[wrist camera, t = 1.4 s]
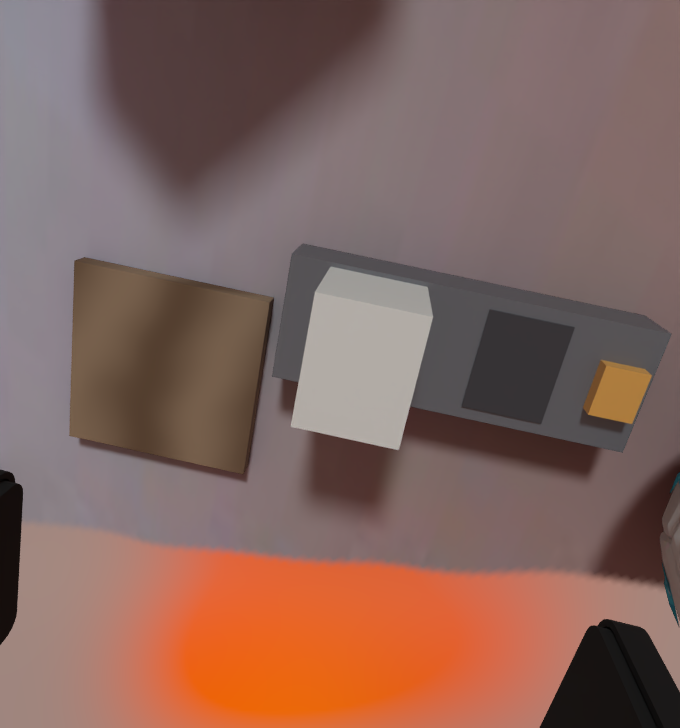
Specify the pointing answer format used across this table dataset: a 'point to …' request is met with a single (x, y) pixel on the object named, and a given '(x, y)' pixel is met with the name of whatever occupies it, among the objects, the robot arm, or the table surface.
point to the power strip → (503, 351)
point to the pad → (166, 364)
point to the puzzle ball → (672, 548)
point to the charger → (362, 357)
